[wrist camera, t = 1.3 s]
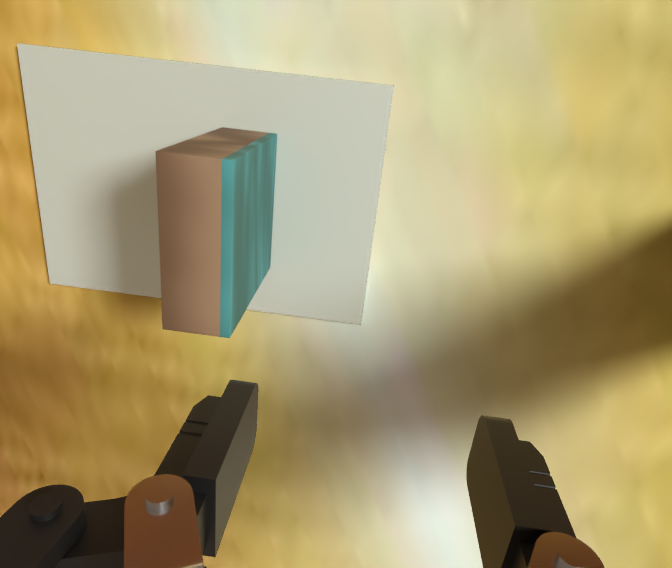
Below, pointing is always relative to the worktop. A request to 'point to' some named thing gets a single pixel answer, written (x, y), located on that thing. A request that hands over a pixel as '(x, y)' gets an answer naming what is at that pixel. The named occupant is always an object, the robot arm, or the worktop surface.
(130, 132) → the sage mat
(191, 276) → the teal and brown block
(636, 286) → the worktop surface
